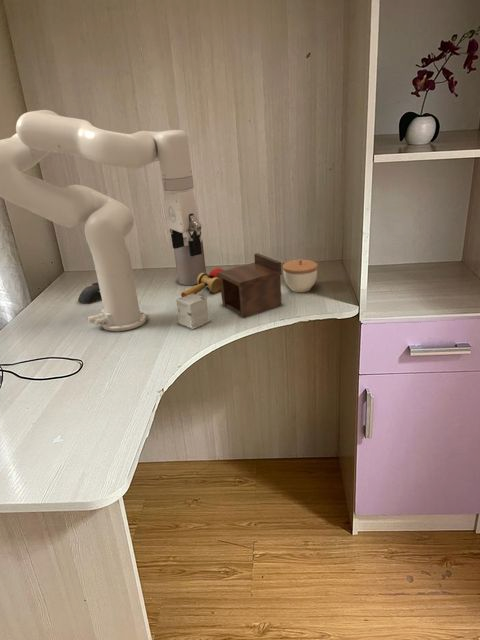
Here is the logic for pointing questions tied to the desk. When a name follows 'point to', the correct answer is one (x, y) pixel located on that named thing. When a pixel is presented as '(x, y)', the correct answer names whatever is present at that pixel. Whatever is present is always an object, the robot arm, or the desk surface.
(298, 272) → the trinket box
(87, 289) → the computer mouse
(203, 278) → the kendama
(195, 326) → the white cardboard box
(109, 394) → the desk surface
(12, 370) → the desk surface
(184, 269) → the pillar candle
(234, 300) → the shelf
